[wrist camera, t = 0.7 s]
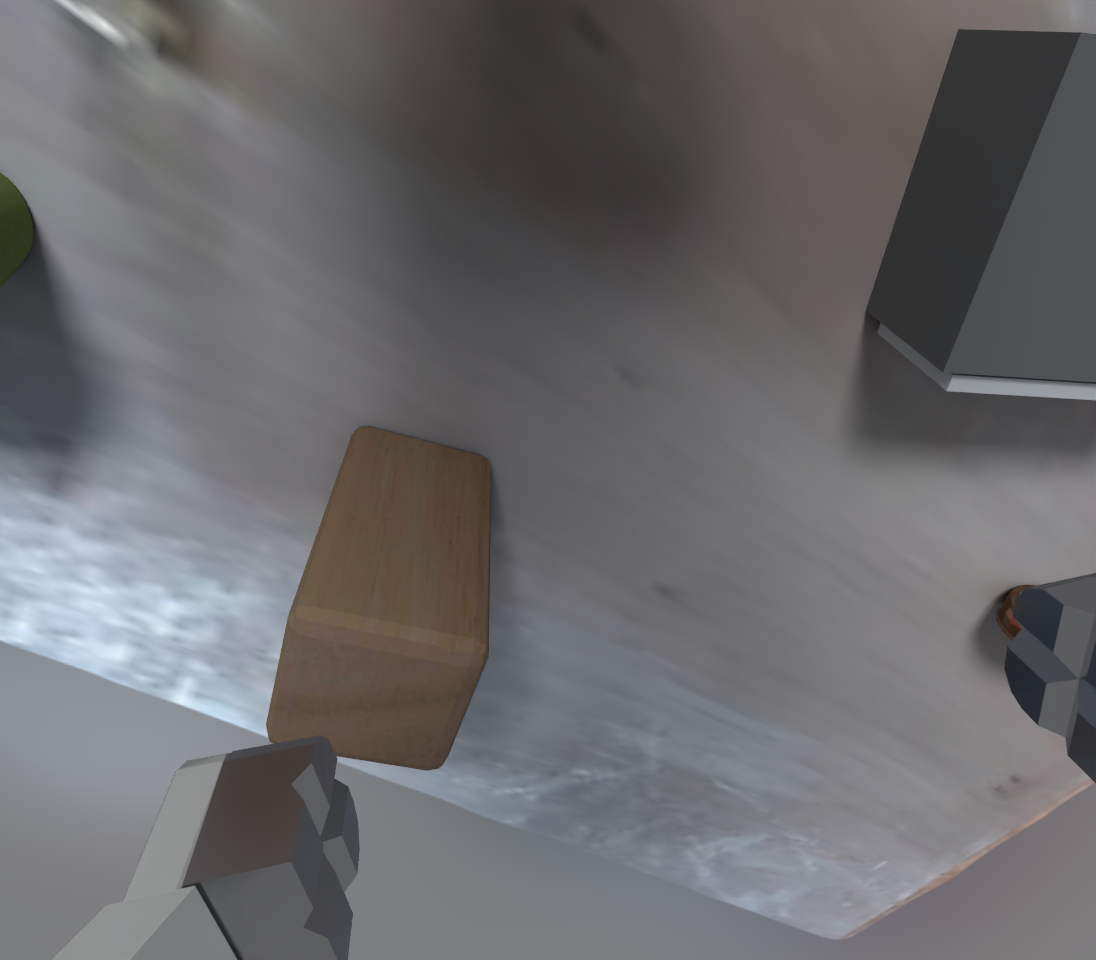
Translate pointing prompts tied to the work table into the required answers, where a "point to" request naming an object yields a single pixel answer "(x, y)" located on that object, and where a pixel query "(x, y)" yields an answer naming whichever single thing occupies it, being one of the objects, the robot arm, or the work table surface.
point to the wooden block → (390, 605)
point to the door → (992, 378)
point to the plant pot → (13, 229)
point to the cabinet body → (1001, 214)
